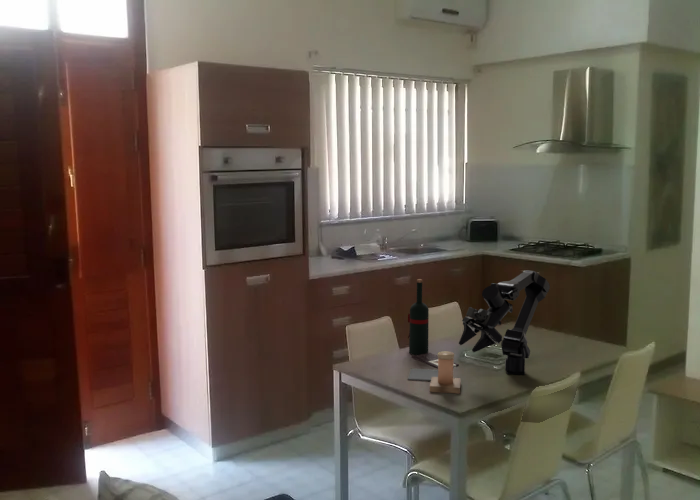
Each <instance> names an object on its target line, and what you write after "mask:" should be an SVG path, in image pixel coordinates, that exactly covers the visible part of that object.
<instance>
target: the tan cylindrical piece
mask: <svg viewBox="0 0 700 500" xmlns="http://www.w3.org/2000/svg"><path fill="white" fill-rule="evenodd" d="M437 356H438V368H437V370H438V383H440V384H444V385H449V384H453V378H454V363H455V362H454V361H455V360H454V359H455V353H454V352H452V351H439V352H438V353H437Z"/></svg>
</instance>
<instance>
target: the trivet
mask: <svg viewBox="0 0 700 500" xmlns="http://www.w3.org/2000/svg"><path fill="white" fill-rule="evenodd" d="M461 383H462V381H461V377H459V378H458V377H453V384H449V385H444V384H440V383H438V377H432V378H431V381H430V383H429V392H430V393H444V394H461V386H462V385H461Z"/></svg>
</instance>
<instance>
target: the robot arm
mask: <svg viewBox="0 0 700 500" xmlns="http://www.w3.org/2000/svg"><path fill="white" fill-rule="evenodd" d="M550 287H551V286H550V283H549V281H548V280H547V279H546V278H545V277H543V276H542V275H540V274H539V272H537V271H535V270H529V269H527V270H523V271H522V272H521V273H520V274H518V275H516V276H515V277H514V278H512V279H511V280H505V281H500V282H498V283H493V282H492V283H490V285H488V286H487V287H485V288H484V289H483V290H482V291H481V296H482V298H483V299H484V301H485V302H486V303H487V305H488V308H487V310H486V309H483V308H480V309H476V308H473V307H471V306H469V307H468V309H467V310H466V311H467V312H466V315H465V317H463V319H462V320H461V322H462V325H463V331H462V335H460V336H461V337H460V339H459V341H458V344H459V346H462V345H464V344H466V343H467V342H468V341H470V340H471V339H473V338H474V337H475V336H477V334H478V333H479V332H480V337H479V339H478V340H477V342H476V343H475V344H474V346H473V347H472V349H471V352H473V353H476V352H478V351H481V350H483V349H485V348H487V347H490V346H492V345H496V344H498V345H499V344H500V345H501V346H500V347H501V350H502V351H501V352H502V355H503V356H506V357H505V359H504V371H506V374H507V375H519V376H520V375H524V376H525V375H526V370H525V369H526V359H529V358H530V354H531V350H530V348H529V346H528V339H527V335H526V334H527V332H528V329H529V327H530V325H531V322H532V319H533V317H534V314H535V311H536V309H537V307H538V305H539V303H540V302H541V301H542V300H544V299H545V298H546V296H547V294H548V293H549V291H550V289H551V288H550ZM523 289H524V292H525V298H524V300H523V303H522V306H521V308H520V310H519V313H518V316H517V319H516V321H515V323H514V326H513V327H512V329H509V328H508V329H506V331H505V334H504V336H503V335H502V334H501V333H500V331H499V330H497V329H496V327H497V325H499V326H501V324H502V320H503V318H504V317H505V316H506V315H507V314H508V312H509V313H513V310H514V309H513V304H511V303H510V302H509V301H516V300H517V298H518V297H519V296H520V292H521V291H523Z"/></svg>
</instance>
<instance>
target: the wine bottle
mask: <svg viewBox="0 0 700 500" xmlns="http://www.w3.org/2000/svg"><path fill="white" fill-rule="evenodd" d="M429 312H430V311H429V307H428V306H427V304H426V303H425V302H423V279H421V278H418V279H416V302H414V303H412V304H411V306H410V308H409V313H408V314H407V322H408V324H409V328H408V329H409V333H408V336H407V339H409V341H408V353H409V354H411V355H413V356H415V355H420V354H425V353H429V317H430V314H429Z"/></svg>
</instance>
